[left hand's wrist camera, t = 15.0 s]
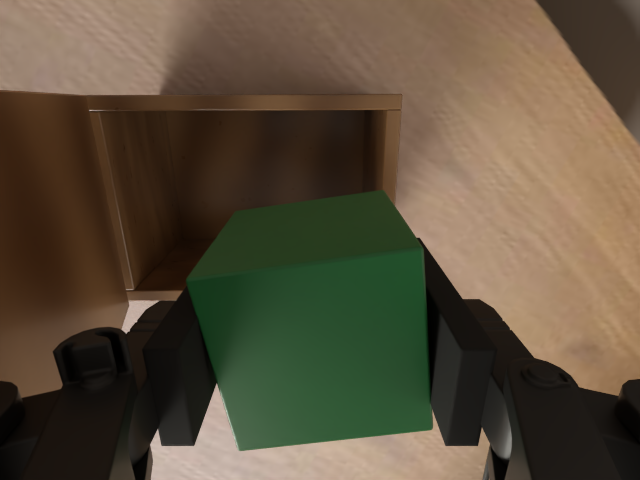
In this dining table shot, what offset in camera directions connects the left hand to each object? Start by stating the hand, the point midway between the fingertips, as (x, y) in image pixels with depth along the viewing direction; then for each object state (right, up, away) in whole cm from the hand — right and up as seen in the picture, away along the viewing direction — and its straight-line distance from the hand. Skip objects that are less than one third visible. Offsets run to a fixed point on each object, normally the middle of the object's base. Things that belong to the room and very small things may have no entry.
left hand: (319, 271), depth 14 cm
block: (0, 0, 0) cm, 0 cm away
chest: (-4, +6, +16) cm, 18 cm away
